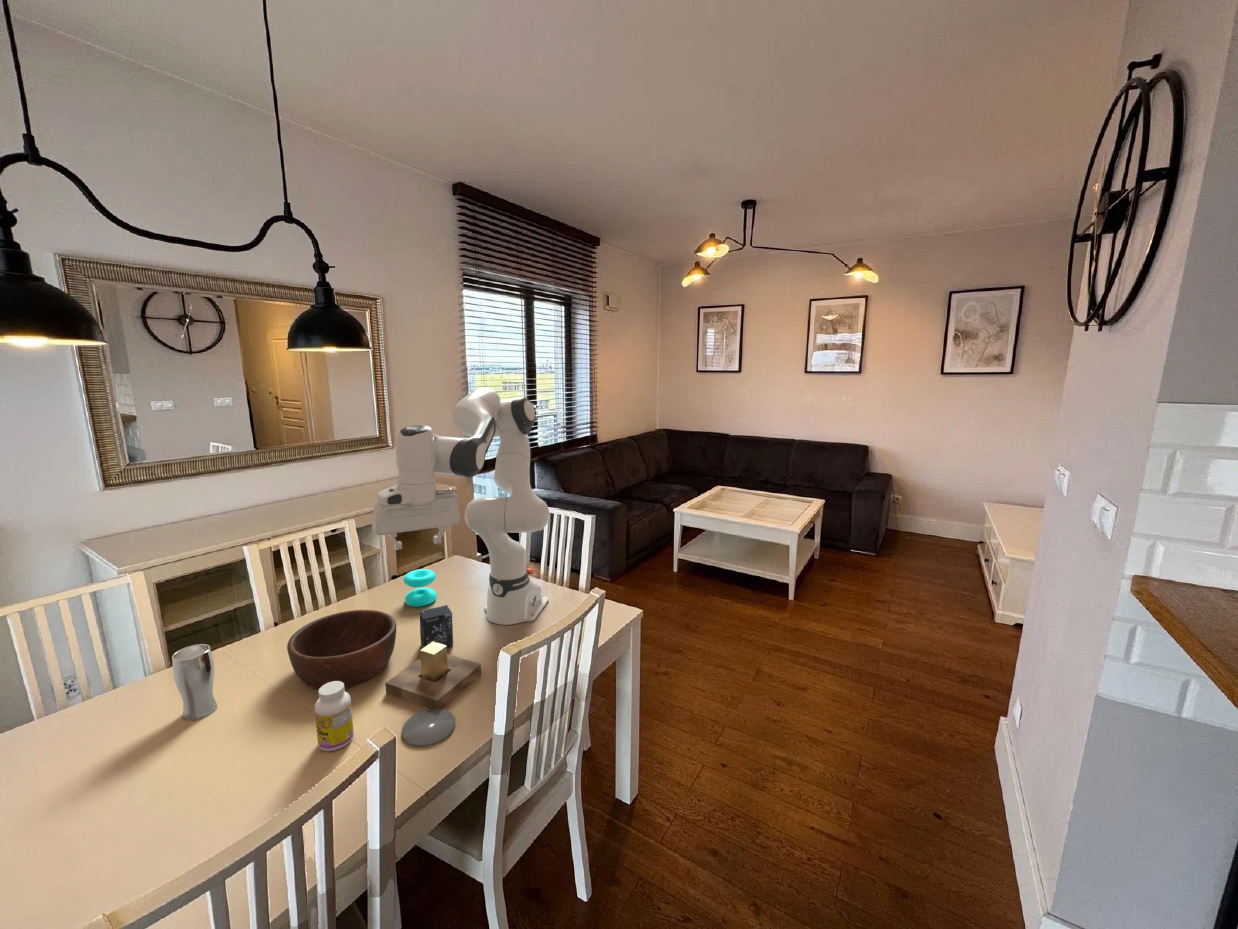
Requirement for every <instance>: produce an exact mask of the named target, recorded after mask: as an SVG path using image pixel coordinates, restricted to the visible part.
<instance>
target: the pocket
mask: <svg viewBox="0 0 1238 929" xmlns="http://www.w3.org/2000/svg"><path fill="white" fill-rule="evenodd" d="M447 664H448V673H447V674H446V675H445V676H443V677H442V678H441V679H440V680H438V681H437V682H436V683H435V682H432V681H429V680H426V679H423V678H422V676H421V658H420V657H419V659H417V660H416V661H414V662H413V663H412V664H410V665H409V666H407V667H406V668H404V669H403V670H401V671H400V672H399V673H397V674H395V675H394V676H393V677H391V678H390V679H388V680H387V681H386V682H384V683H385V685H384V686H385V694H386V695H388V696H391V697H393V698H398V699H399V700H403V701H406V702H408V703H411V704H415V705H416V706H419V707H423V708H424V709H427V710H429V709H443V708H445V707H446V706H447V705H448V704H449V703H450V702H452V700H453V699H455V698H456V697H458V695H459V694H461V693H462V692H463V691H464V690H465V689H466V688H468V687H469V686H470V685H471V684H472V683H473V682H474V681H476V680H477V679H478V678H479V677H480V676H481V675H482V664H481V663H478V662H475V661H473V660H468V659H465V658H462V657H459V656H455V655H452V654H449V653H447Z"/></svg>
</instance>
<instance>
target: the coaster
mask: <svg viewBox="0 0 1238 929" xmlns="http://www.w3.org/2000/svg"><path fill="white" fill-rule="evenodd" d="M455 727H456V718H455V716H454V715H453V713H452V712H451V711H449V710H446V709H443V708H442V709H426V710H423V711H420V712H418V713H417V712H416V714H414V715H413V716H410V717H409V719H407V720H406V722H405V723H404V724H403V725H402V728H401V729H402V730H401V737H402V740H403V742H405V743H406V744H407V745H409V746H411V747H415V748H425V747H430V746H434V745H437V744H439V743H442V741H445V740H446V739H447V738H448V737H449V736H450V735H452V733H453V731H454V729H455Z"/></svg>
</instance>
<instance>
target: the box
mask: <svg viewBox="0 0 1238 929" xmlns="http://www.w3.org/2000/svg"><path fill="white" fill-rule="evenodd" d="M453 624H454V623H453V611H452V610H451V609H450V607H449V606H448V605H447V604H445V605H441V606H437V607H433V608H428V609H424V610H419V630H420V632H419V634H420V645H421V649H423V648H424V647H426V646H427V645H429V644H430V643H432V642H436V643H440V644H443V645H446V646H447V648H450V647H453V646H454V632H453V629H454V627H453Z"/></svg>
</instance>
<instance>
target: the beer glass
mask: <svg viewBox="0 0 1238 929" xmlns="http://www.w3.org/2000/svg"><path fill="white" fill-rule="evenodd" d="M213 657H214V656H213V653H212V651H211V645H209V644H207V643H206V644H205V643H200V644H199V643H198V644H192V645H190V646H189V645H188V646H185V647H183V648H181V649H179V650H177V651H176V652H174V653H173V654H172V656H171V659H172V673H173V679H174V682H175V683H174V684H175V685H176V689H177V690H178V693H179V694H180V697H181V699H182V703H183V704H182V706H183V711H182V718H183V719H184V720H185V721H195V720H200V719H203V718H206V717H208V716H209V715H211V714H212V713H214V712H215V711H216V709H217V708H218V703H217V701H216V699H215V696H214V692H213V691H214V679H215V663H214V658H213Z"/></svg>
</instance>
